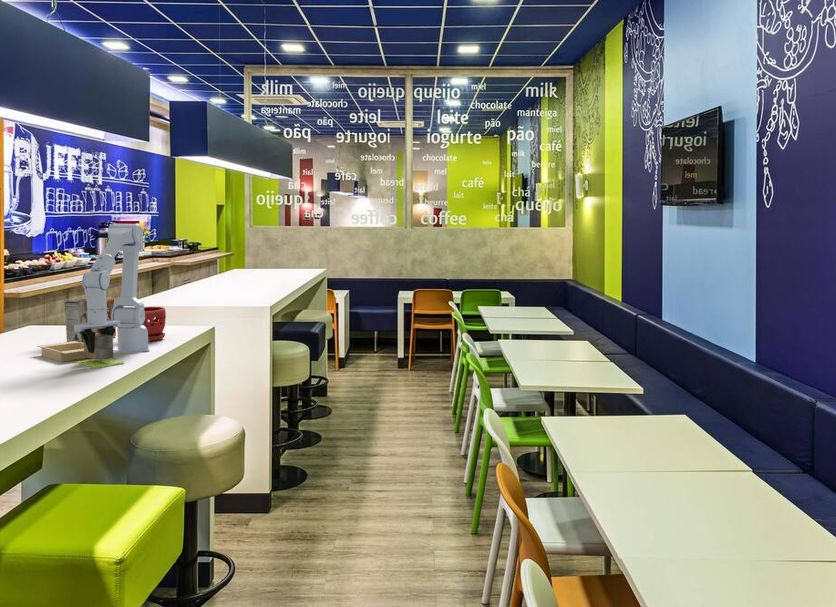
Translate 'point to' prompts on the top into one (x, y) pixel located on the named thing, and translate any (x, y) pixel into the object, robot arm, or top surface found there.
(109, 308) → the candy box
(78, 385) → the top surface
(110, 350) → the box
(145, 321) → the plant pot
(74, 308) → the coffee box
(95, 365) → the mat
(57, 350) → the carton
